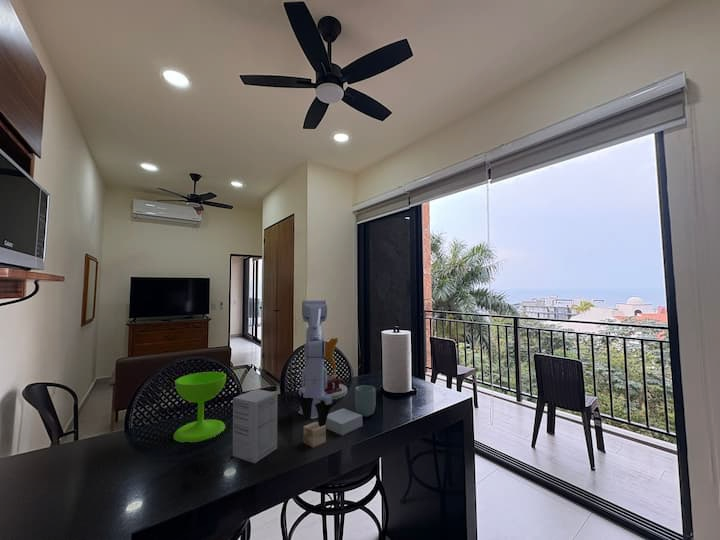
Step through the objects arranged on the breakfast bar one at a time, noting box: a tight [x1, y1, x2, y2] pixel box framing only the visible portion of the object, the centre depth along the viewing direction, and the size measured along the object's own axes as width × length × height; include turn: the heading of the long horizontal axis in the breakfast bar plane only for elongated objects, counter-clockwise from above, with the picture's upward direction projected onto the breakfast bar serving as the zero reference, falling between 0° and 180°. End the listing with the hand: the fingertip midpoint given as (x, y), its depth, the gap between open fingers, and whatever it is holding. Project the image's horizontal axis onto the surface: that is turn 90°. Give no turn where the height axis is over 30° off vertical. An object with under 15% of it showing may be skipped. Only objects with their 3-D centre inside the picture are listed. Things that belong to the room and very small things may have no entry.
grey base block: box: [325, 407, 363, 436], centre depth 111 cm, size 10×10×4 cm
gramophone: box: [322, 337, 348, 401], centre depth 148 cm, size 20×20×25 cm
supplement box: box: [232, 388, 278, 464], centre depth 94 cm, size 10×9×17 cm
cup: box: [354, 384, 377, 418], centre depth 121 cm, size 8×8×10 cm
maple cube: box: [302, 421, 327, 448], centre depth 100 cm, size 5×5×5 cm
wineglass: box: [172, 371, 227, 443], centre depth 108 cm, size 16×16×18 cm
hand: (314, 421), depth 100 cm, fingers open, 7 cm apart
